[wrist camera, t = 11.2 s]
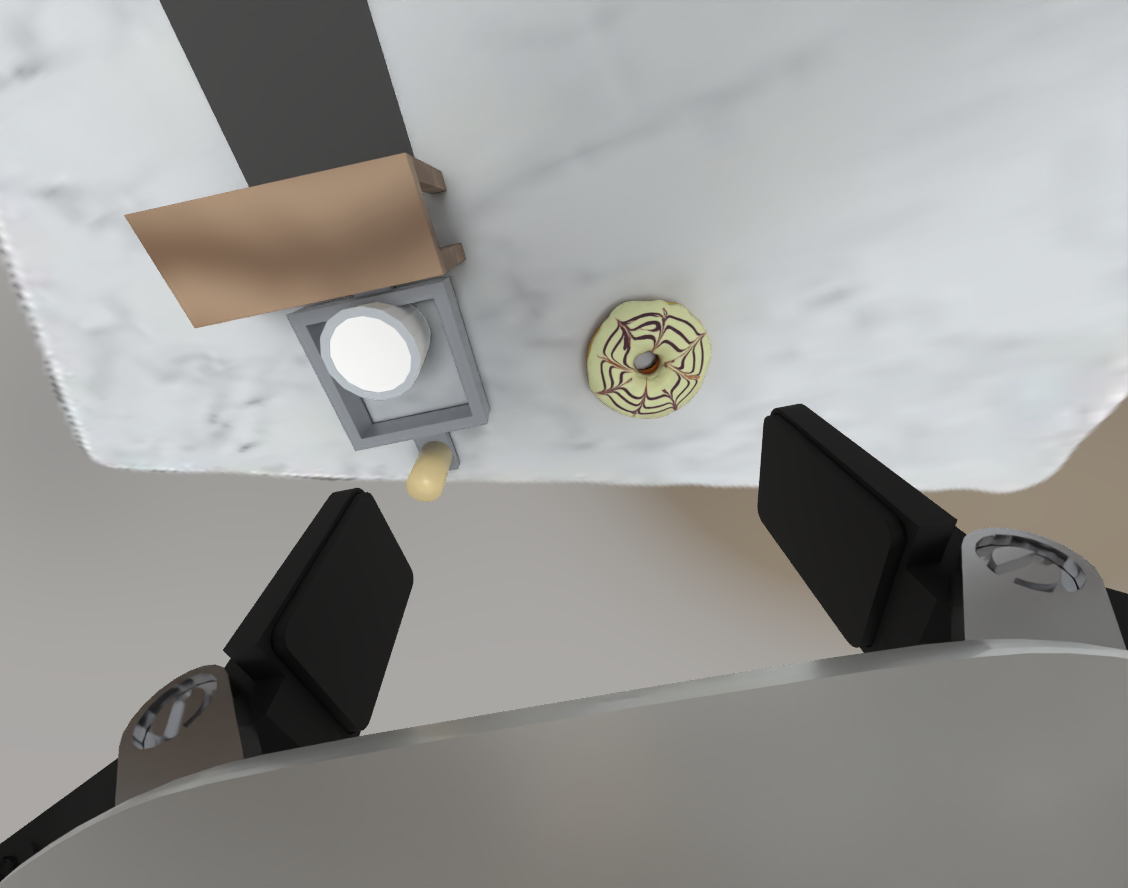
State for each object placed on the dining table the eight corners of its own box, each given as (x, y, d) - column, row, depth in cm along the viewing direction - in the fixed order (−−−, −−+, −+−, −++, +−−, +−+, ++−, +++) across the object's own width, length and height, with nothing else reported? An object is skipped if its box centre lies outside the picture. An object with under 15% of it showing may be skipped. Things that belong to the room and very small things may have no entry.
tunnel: (241, 215, 31) (123, 215, 22) (441, 171, 30) (405, 152, 21) (283, 298, 34) (194, 328, 25) (465, 259, 33) (443, 274, 24)
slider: (272, 239, 31) (215, 245, 25) (427, 205, 31) (405, 203, 25) (387, 478, 42) (365, 519, 36) (503, 454, 42) (499, 492, 36)
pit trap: (159, -4, 25) (156, -6, 25) (351, -49, 25) (350, -51, 25) (258, 203, 30) (256, 203, 30) (417, 168, 30) (416, 167, 30)
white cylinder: (348, 353, 36) (311, 381, 30) (364, 275, 33) (327, 289, 27) (426, 381, 38) (407, 413, 32) (448, 310, 35) (431, 330, 29)
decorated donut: (600, 283, 35) (607, 290, 32) (715, 308, 37) (734, 317, 34) (573, 396, 40) (577, 412, 37) (677, 414, 42) (690, 430, 38)
